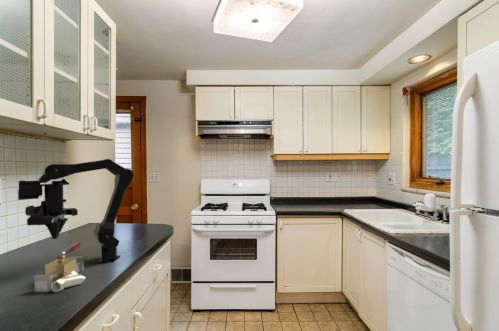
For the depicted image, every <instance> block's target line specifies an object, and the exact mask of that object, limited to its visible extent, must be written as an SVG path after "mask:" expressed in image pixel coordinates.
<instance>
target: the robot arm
mask: <svg viewBox="0 0 499 331" xmlns="http://www.w3.org/2000/svg"><path fill="white" fill-rule="evenodd" d="M103 169H106V170H107V171H109V173H111V174H113V175H114V176H115V177H114V188H113V191H112V194H111V196H110V200H109V202H108V206H107V209H106V211H105V213H104V216H103V220H102V221H100V223H98V222H96V225H95V229H94V230H93V233H94V238H95V240H96V241H97V242H98V243H100V245H101V248H100V249H101V251H100V252H101V258H100V259H99V260H97V262H98V263H113V262H115V261H117V260H118V259H119V258H121V255H119V254H118V246H119V243H120V240H119V239H118V238H116V237H115V236H114V234H115V222H116V218H117V215H118V212H119V210H120V207H121V204H122V201H123V198H124V195H125V192H126V190H127V188H128V187H129V186H130V184H131V182H132V181H133V179H134V177H135V174H134V172H133V170H132V169H130V168H126V167H123V166H122V165H120V164H118V163H116V162H115V161H113V160H112V159H110V158H105V159H102V160H101V159H100V160H94V161H86V162H79V163H73V164H72V163H71V164H70V163H51V164H47V165H46V166H45V167H44V168H43V174H42V175H41V176H40V177H39V178H38V179H37V180H19V181H18V189H17V193H18V194H17V196H18V197H17V200H18V201H24V200H35V199H36V200H38V199H39V198H40V197H41V196H43V191H44V200H41V202H40V205H37V206H34V205H33V204H32V205H28V206H26V207H25V210H24V213H25V215H26V216H27V217H28V216H29V217H28V218H27V219H26V225H27V226H46V228H47V230H48V232H49V234H50V236H51V238H52V239H53V240H56V239H58V238H59V235H60V233H61V232H62V229H63V228H64V226H65V225H66V223H67V221H68V220H69V218H65V217H66V216H72V217H74V216H77V215H78V212H79V211H78V209H77V208H76V207H66V208H65V207H64V206H65V205H64V203H67V199H66V198H64V186H65V185H66V186H67V185H70V182H68V181H67V180H66V179H65V177H68V176H71V175H74V174H80V173H85V172H92V171H99V170H103ZM59 179H61V180H59ZM48 182H51V183H48ZM43 187H44V188H43ZM43 189H44V190H43Z"/></svg>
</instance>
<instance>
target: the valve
mask: <svg viewBox="0 0 499 331" xmlns="http://www.w3.org/2000/svg"><path fill="white" fill-rule="evenodd" d="M44 267H45V268H44V274H36V275H34V276H33V282H34V284H33V285H34V286H33V287H34V290H33V292H34V293H48V292H49V293H51V292H53V291H52V290H51V283H53V282H54V281H56V280H58V279H60V278H62V277H63V276H65V275H66V274H68V273H70V272H72V271H75V272H76V273H78V274H79V272H82V271H84V270H85V257H84V256H69V257H64V258H59V259H56V258H55V260H52V261H51V262H48V263H46V264H44Z"/></svg>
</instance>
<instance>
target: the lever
mask: <svg viewBox="0 0 499 331" xmlns="http://www.w3.org/2000/svg"><path fill="white" fill-rule="evenodd" d="M81 244H82V243H81V241H80V242H74V243H71V244H70V245H68V246H67V247H66V248H64V249H62V250H59V251H56V252H55V253H54V254H55V256H54V257H55V260H56V259H59V258H67V256H68V255H69V254H70V253H72V252H75V251H76V250H78V249H80V248H81Z"/></svg>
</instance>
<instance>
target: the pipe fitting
mask: <svg viewBox="0 0 499 331" xmlns="http://www.w3.org/2000/svg"><path fill="white" fill-rule="evenodd" d="M85 280H86V276H85V275H82V273H79V272H78V273H76V272H75V271H72V272H70V273H68V274H66V275H65V276H63V277H62V278H60V279H58V280H56V281H54V282H53V283H51V290H52V291H51V292H54V293H58V292H60V291H63V290H64V289H68V288H71V287H74V286H76V287H77V286H80V285H82V284H83V282H84V281H85Z"/></svg>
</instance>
